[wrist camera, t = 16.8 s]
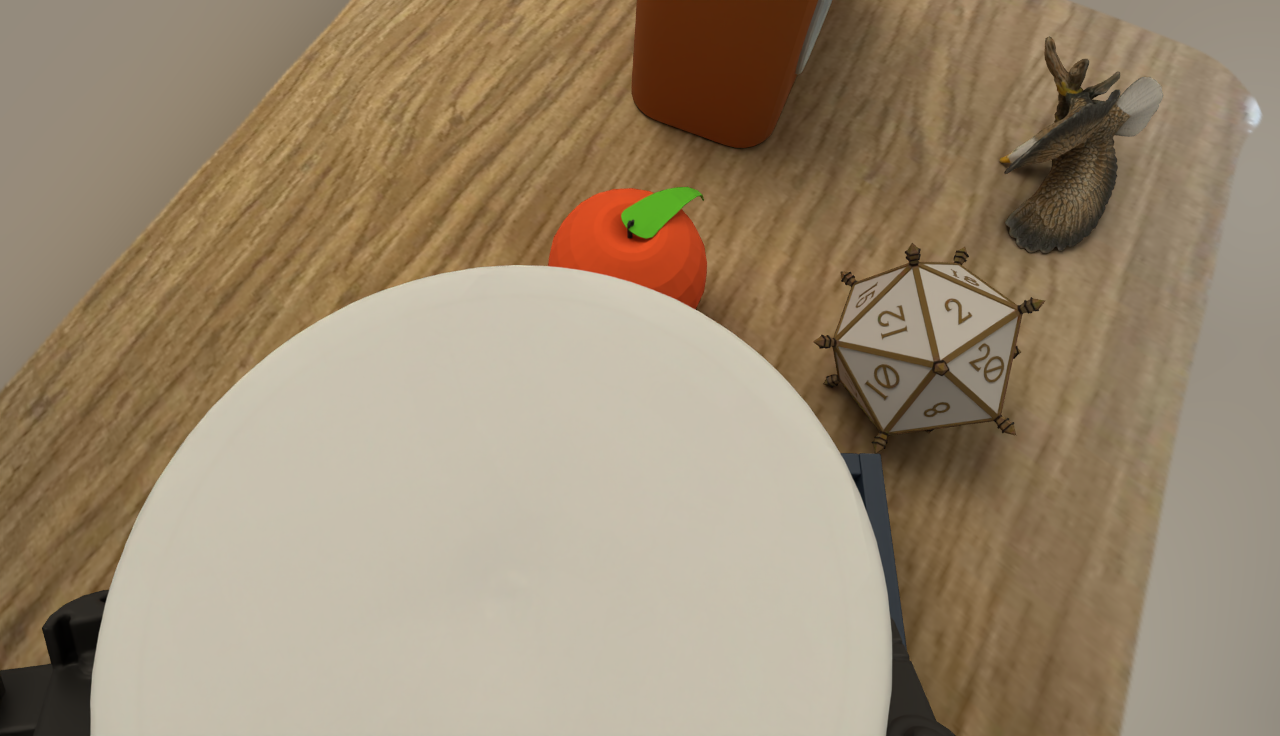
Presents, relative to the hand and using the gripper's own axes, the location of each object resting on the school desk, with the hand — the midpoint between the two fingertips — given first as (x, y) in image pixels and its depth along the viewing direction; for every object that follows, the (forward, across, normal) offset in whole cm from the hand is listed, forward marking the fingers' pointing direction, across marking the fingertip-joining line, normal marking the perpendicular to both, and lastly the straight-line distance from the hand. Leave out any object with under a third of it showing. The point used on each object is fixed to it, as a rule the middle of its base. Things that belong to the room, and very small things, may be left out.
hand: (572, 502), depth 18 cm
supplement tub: (+2, 0, -6) cm, 7 cm away
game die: (+16, +13, -2) cm, 21 cm away
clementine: (+18, +1, 0) cm, 18 cm away
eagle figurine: (+26, +22, +7) cm, 34 cm away
